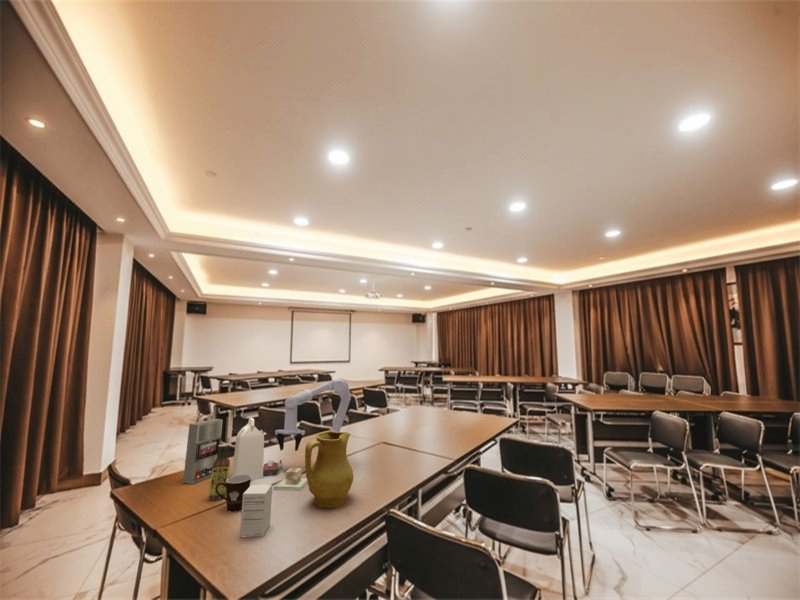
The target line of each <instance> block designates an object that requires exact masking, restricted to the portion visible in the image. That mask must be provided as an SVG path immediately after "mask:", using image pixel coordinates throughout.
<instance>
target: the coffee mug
mask: <svg viewBox="0 0 800 600" xmlns="http://www.w3.org/2000/svg"><path fill="white" fill-rule="evenodd" d="M251 482H252V480H251V476H250V475H237V476H233V477H232V476H230V477H228V479H227V480H226V484H225V483H220V484H218V485H217V486H216V488H215V491H216V493H217V494H218V495H219V496H220V497H222V498H223V499H222V500H225V501H226V511H227V512H228V511H231V512H230V513H235V511H237V512H240V511H242V501H243V493H244V492H245V491H246V490H247V489H248V488H249V487H250V486H251ZM219 485H224V486H225V487H226V496H225V497H224V496H222V495H221V494H219V492H218V491H217V487H218V486H219ZM239 510H240V511H239Z"/></svg>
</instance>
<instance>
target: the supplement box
mask: <svg viewBox="0 0 800 600" xmlns="http://www.w3.org/2000/svg"><path fill="white" fill-rule="evenodd" d="M272 495H273V484H270V483H269V484H252V485H251V484H250V487H249V488H248V489H247V490H246V491H245V492H244V493H243V501H242V510H241V516H240V528H239V529H240V531H239V538H243V537H242V536H258V537H264V535H265V534H266V532H267V530H268V528H269V527H270V526H271V517H272V514H271V513H272V499H273V497H272Z"/></svg>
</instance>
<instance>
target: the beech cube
mask: <svg viewBox="0 0 800 600" xmlns="http://www.w3.org/2000/svg"><path fill="white" fill-rule="evenodd" d="M285 477H286V479H285V484H291V485H297V484H298V483H299V482H300V481H301V477H302V468H301V467H290V468H289V469H288V470H286V471H285Z"/></svg>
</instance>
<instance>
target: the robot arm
mask: <svg viewBox="0 0 800 600" xmlns="http://www.w3.org/2000/svg"><path fill="white" fill-rule="evenodd" d="M326 391H331V392H333V391H335V393H337V394H338V396H339V397H340V398H339V399H340V402H339V406H338V408H337V412H336V414H335V417H334V420H333V423H332V426H331V429H330V431H333V432H341V429H342V426H343V423H344V420H345V417H346V414H347V411H348V408H349V404H350V402H351V399H352V396H351V392H350V387H349V384H348V382H347V381H346V380H345V379H344V378H337V379H334V380H330V381H327V382H326V383H323V384H321V385H319V386H317V387H316V388H313V389H311V390H310V389H308V388H307V389H305V388H304V389H302V391H301V392H298V393H294V394H293V395H292V396H288V398H286V399H285V401H284V406H285V413H284V426H283V427H284V429H276V430H275V431H274V432H275V435H276V436H275V438H276V440H277V443H278V446H279V451H284V447H285V438H286V435H290V436H294V439H295V441H294V443H295V445H294V451H295V452H296V451H297V452H298V450H299V447H300V445H301V441H302V439H303V437H304V436H305V434H306V430H304V429H297V424H298V423H297V422H298V420H297V419H298V406H301V405H303V404H305V403H308V402H310V401H312V399H313V397H314V396H316V395H319V394H321V393H323V392H326Z"/></svg>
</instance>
